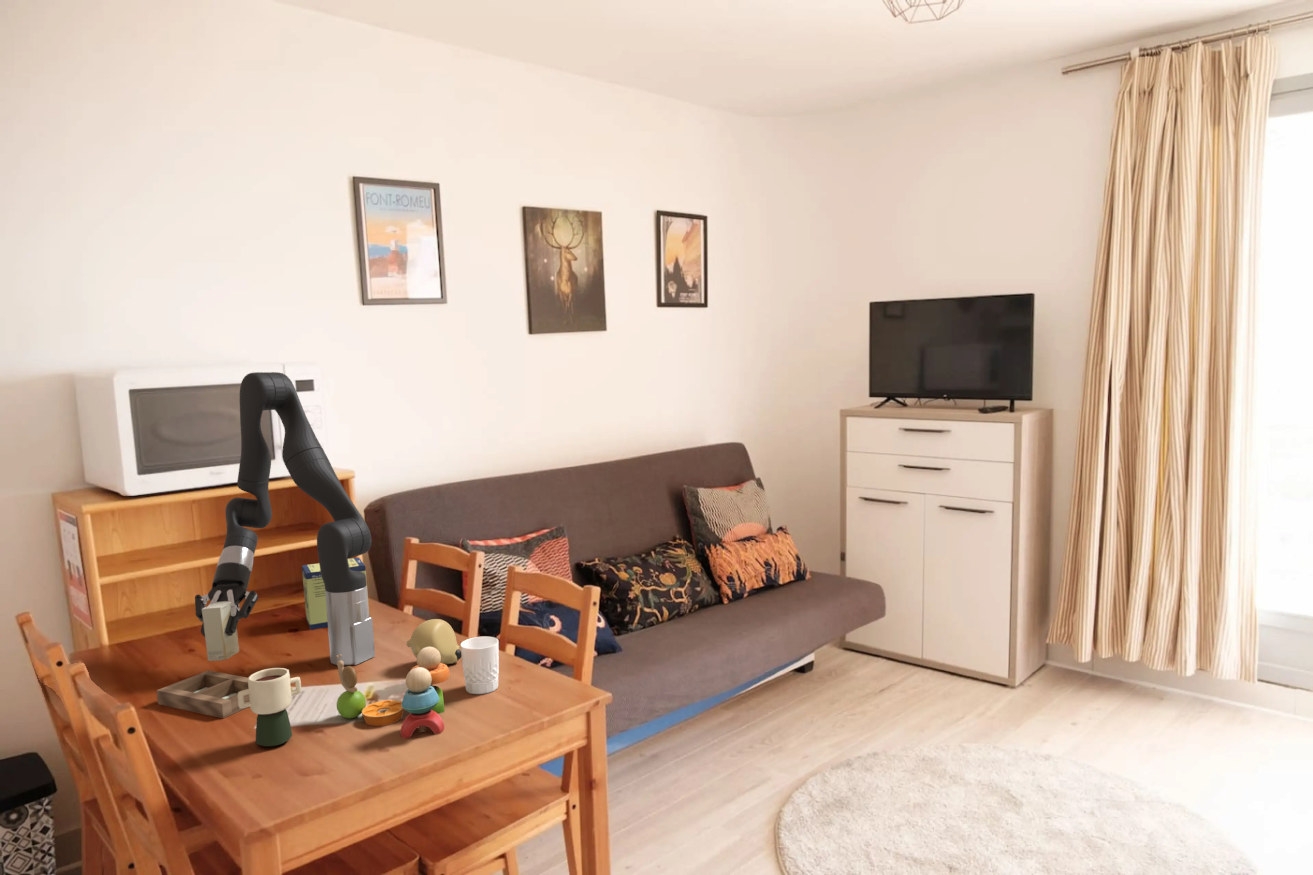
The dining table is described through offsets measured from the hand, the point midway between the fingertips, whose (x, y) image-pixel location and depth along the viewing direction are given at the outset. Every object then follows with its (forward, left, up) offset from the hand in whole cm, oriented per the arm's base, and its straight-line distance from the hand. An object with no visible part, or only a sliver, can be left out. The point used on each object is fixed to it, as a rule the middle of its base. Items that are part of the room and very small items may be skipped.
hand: (217, 634), depth 192 cm
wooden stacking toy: (-58, +3, -10) cm, 59 cm away
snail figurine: (-45, +6, -10) cm, 46 cm away
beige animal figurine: (-42, -23, -10) cm, 49 cm away
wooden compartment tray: (-11, +10, -10) cm, 17 cm away
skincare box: (+1, -2, -6) cm, 6 cm away
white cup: (-61, -15, -10) cm, 64 cm away
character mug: (-40, +20, -10) cm, 45 cm away
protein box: (+7, -41, -10) cm, 43 cm away
